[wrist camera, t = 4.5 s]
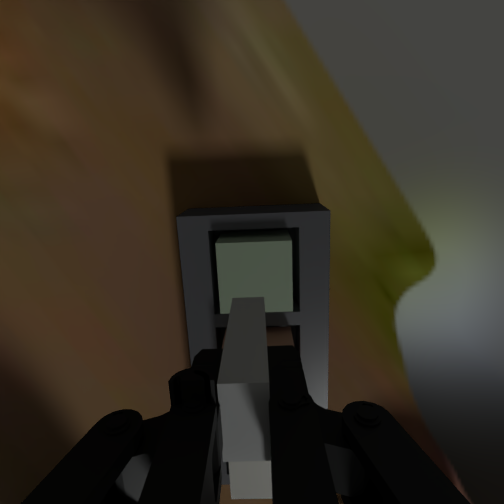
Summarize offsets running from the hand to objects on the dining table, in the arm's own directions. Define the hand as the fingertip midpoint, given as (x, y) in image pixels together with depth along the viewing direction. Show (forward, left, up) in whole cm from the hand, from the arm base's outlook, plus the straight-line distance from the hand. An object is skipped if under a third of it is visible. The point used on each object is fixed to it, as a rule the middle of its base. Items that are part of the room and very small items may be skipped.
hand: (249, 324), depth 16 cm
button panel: (0, -7, -11) cm, 13 cm away
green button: (0, 0, -10) cm, 10 cm away
